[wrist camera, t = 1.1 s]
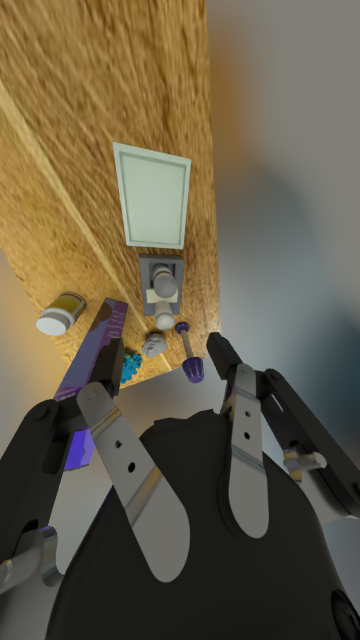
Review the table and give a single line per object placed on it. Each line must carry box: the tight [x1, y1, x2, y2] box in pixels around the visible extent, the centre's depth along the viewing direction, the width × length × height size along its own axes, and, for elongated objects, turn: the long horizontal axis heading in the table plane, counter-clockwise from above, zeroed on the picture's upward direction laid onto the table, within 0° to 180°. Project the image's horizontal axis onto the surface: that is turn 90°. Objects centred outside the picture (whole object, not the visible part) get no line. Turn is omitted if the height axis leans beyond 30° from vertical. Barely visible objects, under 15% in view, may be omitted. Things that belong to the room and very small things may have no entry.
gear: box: [120, 353, 142, 384], centre depth 41 cm, size 11×6×10 cm
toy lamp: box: [175, 322, 204, 383], centre depth 32 cm, size 5×5×17 cm
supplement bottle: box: [36, 293, 86, 336], centre depth 25 cm, size 5×5×8 cm
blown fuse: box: [152, 263, 177, 298], centre depth 24 cm, size 4×4×8 cm
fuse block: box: [139, 253, 185, 330], centre depth 26 cm, size 12×8×10 cm, turn 175°
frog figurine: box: [142, 333, 167, 358], centre depth 36 cm, size 6×7×7 cm
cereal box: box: [53, 298, 128, 472], centre depth 25 cm, size 17×5×24 cm, turn 155°
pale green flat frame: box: [112, 142, 191, 249], centre depth 21 cm, size 11×10×2 cm
